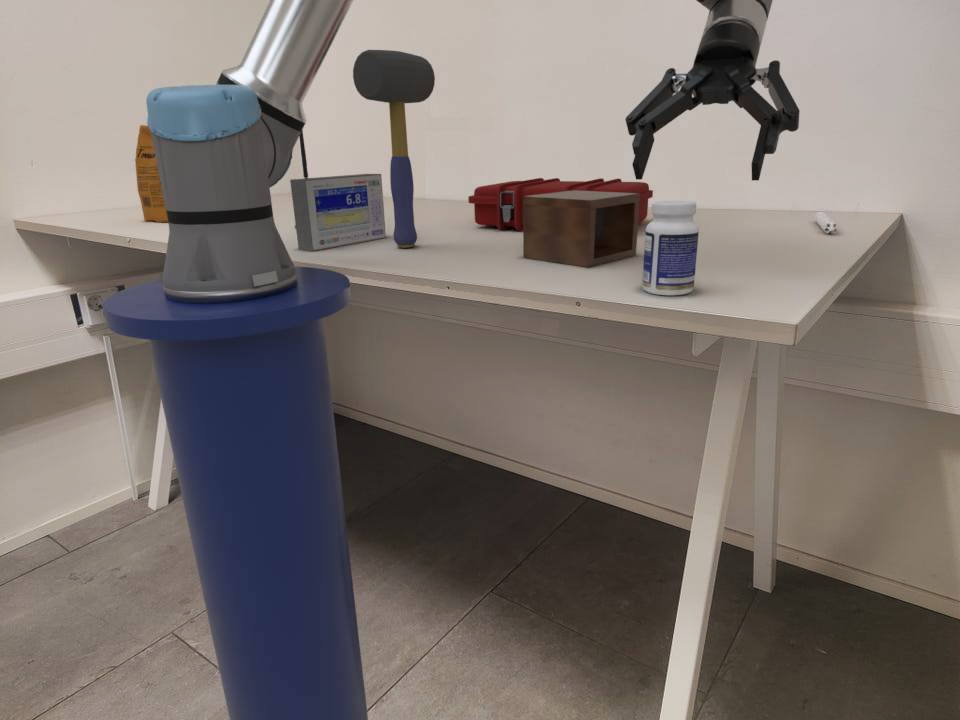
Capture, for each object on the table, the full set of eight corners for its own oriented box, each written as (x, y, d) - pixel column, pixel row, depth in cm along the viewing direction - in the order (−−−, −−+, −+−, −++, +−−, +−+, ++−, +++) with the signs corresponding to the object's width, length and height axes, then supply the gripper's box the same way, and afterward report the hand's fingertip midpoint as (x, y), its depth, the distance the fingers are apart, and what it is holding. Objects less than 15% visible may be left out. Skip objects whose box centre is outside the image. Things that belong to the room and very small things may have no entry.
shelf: (523, 257, 93) (523, 196, 90) (572, 247, 101) (573, 190, 98) (588, 267, 85) (591, 200, 82) (636, 255, 93) (640, 193, 90)
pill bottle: (702, 290, 71) (711, 201, 68) (677, 299, 67) (685, 205, 64) (658, 283, 75) (664, 198, 72) (631, 291, 71) (637, 202, 68)
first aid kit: (465, 229, 124) (463, 184, 121) (513, 216, 143) (513, 177, 140) (622, 237, 109) (625, 187, 107) (653, 221, 129) (656, 178, 126)
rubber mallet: (397, 255, 98) (383, 43, 88) (363, 251, 102) (346, 49, 92) (446, 243, 107) (437, 52, 97) (413, 240, 111) (401, 56, 101)
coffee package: (172, 216, 159) (155, 125, 152) (205, 218, 153) (189, 123, 146) (136, 221, 151) (117, 124, 143) (170, 223, 145) (151, 123, 138)
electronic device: (313, 251, 103) (298, 123, 96) (288, 248, 107) (272, 124, 100) (388, 237, 116) (379, 123, 109) (363, 235, 120) (353, 124, 113)
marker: (837, 236, 105) (840, 222, 104) (824, 235, 106) (826, 221, 105) (825, 222, 121) (827, 210, 120) (813, 222, 122) (815, 210, 121)
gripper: (836, 61, 78) (809, 195, 71) (639, 76, 90) (599, 191, 83) (842, 7, 72) (813, 147, 64) (630, 30, 84) (586, 150, 76)
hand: (693, 172), depth 74 cm, fingers open, 13 cm apart
